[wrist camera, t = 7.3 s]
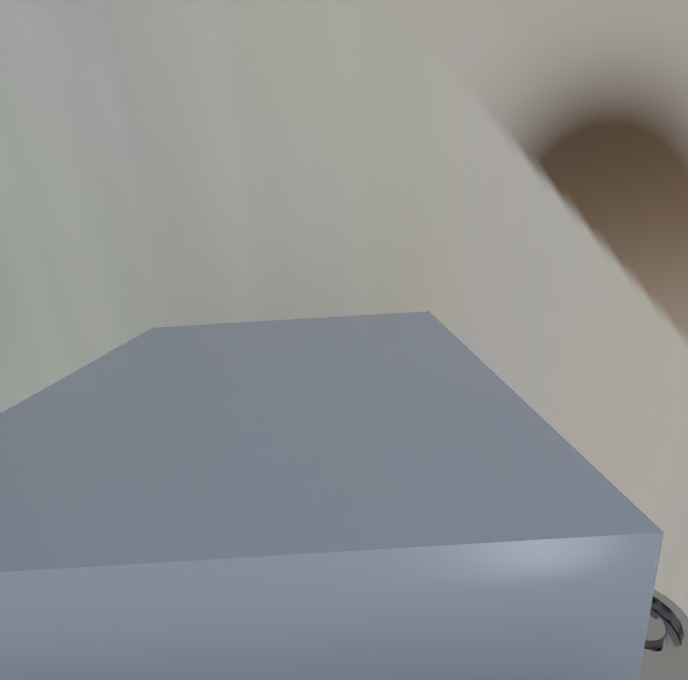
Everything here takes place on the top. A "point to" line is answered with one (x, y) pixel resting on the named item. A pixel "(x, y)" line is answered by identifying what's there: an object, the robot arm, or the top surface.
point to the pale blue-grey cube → (309, 517)
